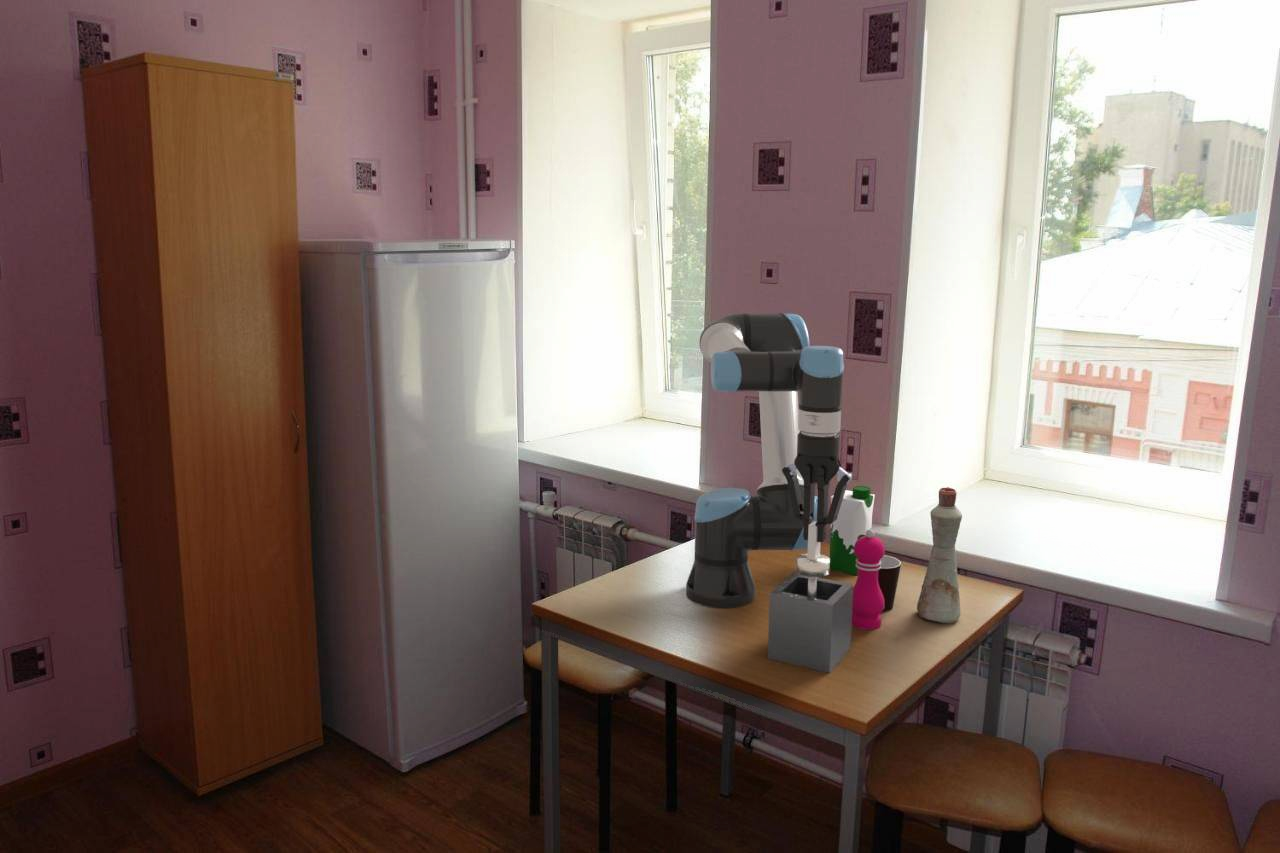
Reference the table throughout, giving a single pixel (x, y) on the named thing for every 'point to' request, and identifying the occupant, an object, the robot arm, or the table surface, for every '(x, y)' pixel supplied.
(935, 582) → the bottle
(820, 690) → the table surface
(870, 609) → the pepper mill
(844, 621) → the tower
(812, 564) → the plunger
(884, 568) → the coffee mug
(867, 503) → the milk carton
